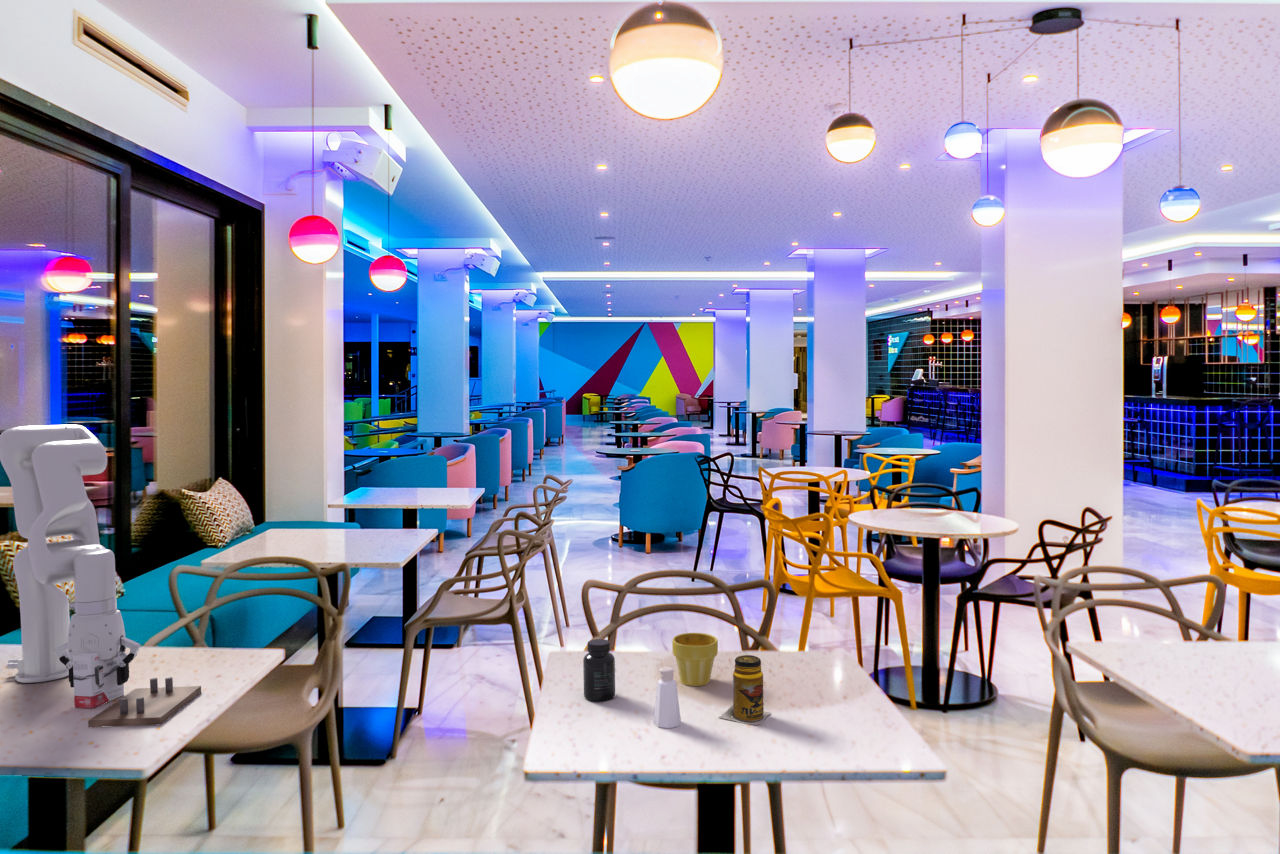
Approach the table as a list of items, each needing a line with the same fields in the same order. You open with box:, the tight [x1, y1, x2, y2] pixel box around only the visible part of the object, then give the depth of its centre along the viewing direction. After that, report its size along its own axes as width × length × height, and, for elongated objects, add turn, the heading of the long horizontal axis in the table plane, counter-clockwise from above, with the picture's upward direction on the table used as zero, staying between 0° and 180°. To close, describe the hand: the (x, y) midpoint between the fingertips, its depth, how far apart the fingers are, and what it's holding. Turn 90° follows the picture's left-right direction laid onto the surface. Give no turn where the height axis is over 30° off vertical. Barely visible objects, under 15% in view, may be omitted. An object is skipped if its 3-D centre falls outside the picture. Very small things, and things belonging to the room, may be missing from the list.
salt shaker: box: [653, 666, 682, 729], centre depth 163 cm, size 5×5×11 cm
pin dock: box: [87, 676, 202, 728], centre depth 175 cm, size 14×18×4 cm
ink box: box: [73, 653, 125, 710], centre depth 180 cm, size 9×5×12 cm, turn 168°
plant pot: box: [671, 632, 719, 687], centre depth 187 cm, size 10×10×10 cm
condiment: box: [718, 654, 772, 726], centre depth 167 cm, size 7×8×12 cm
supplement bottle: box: [582, 638, 616, 703], centre depth 178 cm, size 7×7×12 cm
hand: (99, 684), depth 180 cm, fingers open, 9 cm apart
